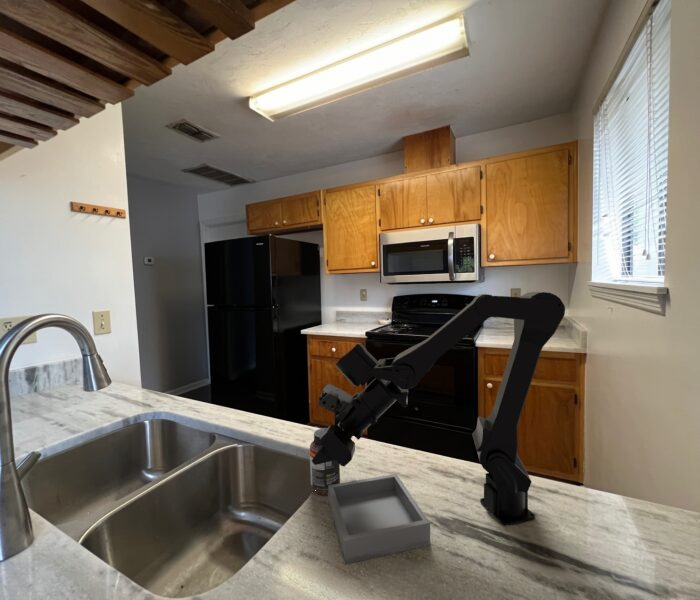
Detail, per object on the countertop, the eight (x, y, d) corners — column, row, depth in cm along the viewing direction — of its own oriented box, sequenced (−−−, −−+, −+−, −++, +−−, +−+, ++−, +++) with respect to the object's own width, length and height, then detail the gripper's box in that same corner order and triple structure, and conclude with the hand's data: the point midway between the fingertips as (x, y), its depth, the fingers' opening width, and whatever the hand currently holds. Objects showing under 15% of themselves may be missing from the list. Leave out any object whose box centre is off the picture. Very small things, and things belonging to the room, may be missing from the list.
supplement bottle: (325, 474, 69) (323, 423, 68) (346, 485, 65) (345, 430, 64) (304, 488, 64) (303, 433, 64) (325, 500, 60) (324, 441, 60)
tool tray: (396, 491, 62) (396, 473, 62) (430, 544, 49) (430, 522, 49) (328, 503, 59) (328, 485, 59) (344, 564, 46) (344, 540, 46)
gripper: (350, 362, 72) (305, 408, 74) (330, 387, 54) (271, 447, 56) (386, 398, 71) (339, 443, 73) (377, 436, 52) (314, 495, 55)
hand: (318, 454), depth 64 cm, fingers closed on supplement bottle, 6 cm apart
